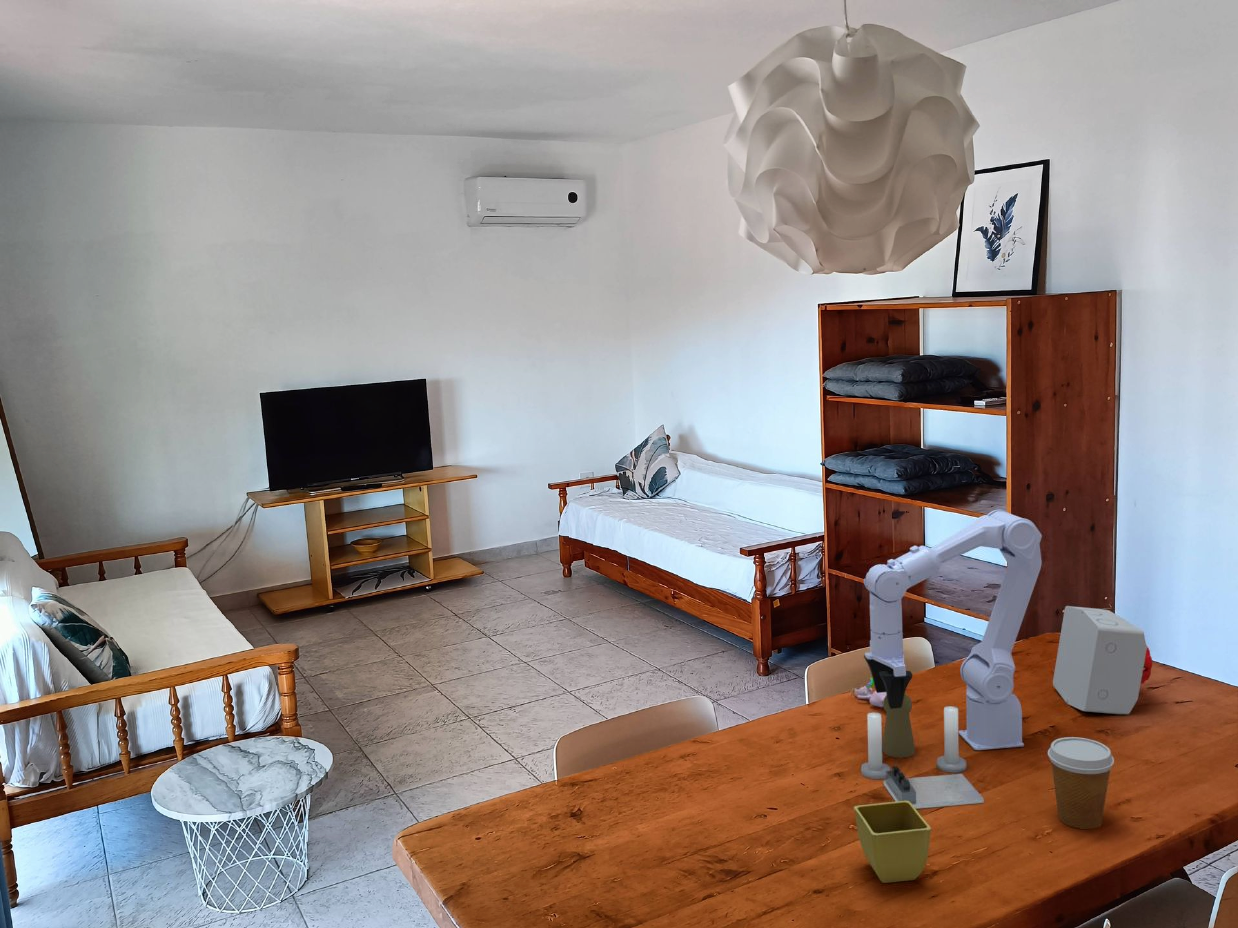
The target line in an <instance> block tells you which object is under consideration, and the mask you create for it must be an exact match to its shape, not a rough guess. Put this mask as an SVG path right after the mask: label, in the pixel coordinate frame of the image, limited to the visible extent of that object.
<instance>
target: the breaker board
mask: <svg viewBox="0 0 1238 928" xmlns="http://www.w3.org/2000/svg"><path fill="white" fill-rule="evenodd" d="M885 779H886V780H885ZM885 779H883V786H884V787H885V789H886V790H887V791H888V793H889V794H890V796H891V798H893V800H894V802H898V801H909V802H910V803H911V804H912V805H913V806H914V808H915V809H916V810H917V809H918V810H919V809H928V808H941V807H949V806H950V807H951V806H952V807H953V806H961V805H962V806H963V805H975V804H984V797H983V796H982V795H981V794H980V793H979V792H978V790H977V789H976V788H975V787H974V786H973V784H972V783H971V782H970V781H969V780H968V779H967V778H966V776H964V774H962V773H952V774H943V775H931V776H920V777H909V778H907V777H906V776H905V774H904V773H903V772H902V771H901V769H900V767H899V766H898V765H893V766H891V769H890V771H886V778H885Z"/></svg>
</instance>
